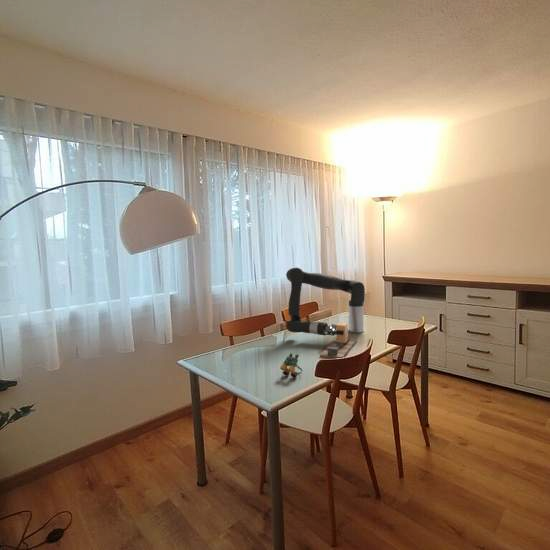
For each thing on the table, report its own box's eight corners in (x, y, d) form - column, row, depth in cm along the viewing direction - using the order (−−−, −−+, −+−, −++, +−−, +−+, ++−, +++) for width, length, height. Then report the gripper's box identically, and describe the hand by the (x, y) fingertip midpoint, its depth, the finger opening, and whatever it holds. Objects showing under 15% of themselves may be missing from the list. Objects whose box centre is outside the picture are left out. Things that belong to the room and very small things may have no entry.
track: (336, 340, 198) (336, 333, 197) (356, 342, 192) (356, 335, 192) (319, 357, 172) (319, 348, 171) (342, 360, 166) (341, 351, 166)
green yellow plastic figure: (283, 378, 153) (276, 365, 147) (291, 362, 159) (284, 349, 153) (300, 382, 148) (293, 369, 142) (308, 366, 153) (302, 352, 148)
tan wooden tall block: (339, 339, 190) (338, 322, 189) (347, 340, 188) (347, 323, 187) (336, 342, 186) (336, 324, 185) (345, 343, 184) (345, 325, 182)
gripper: (314, 325, 187) (341, 327, 179) (322, 319, 199) (348, 321, 191) (314, 337, 187) (342, 341, 180) (322, 331, 200) (349, 333, 192)
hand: (345, 331), depth 186 cm, fingers open, 8 cm apart
